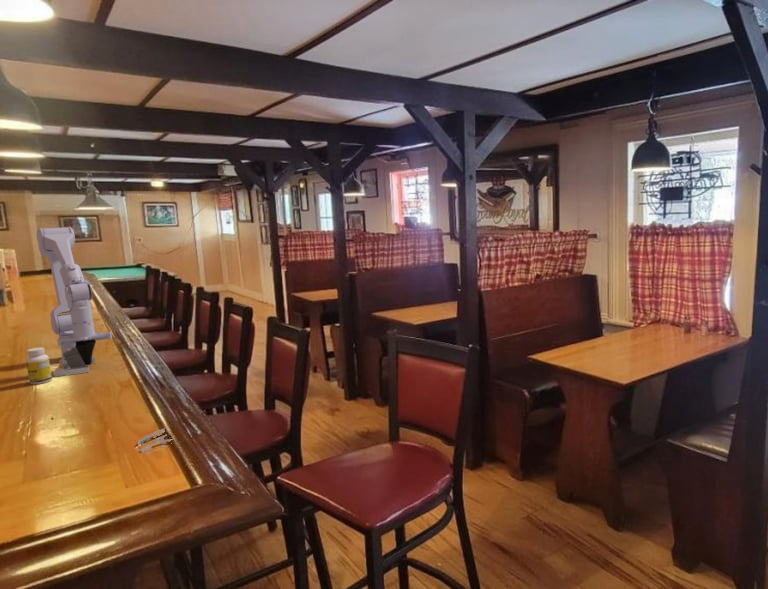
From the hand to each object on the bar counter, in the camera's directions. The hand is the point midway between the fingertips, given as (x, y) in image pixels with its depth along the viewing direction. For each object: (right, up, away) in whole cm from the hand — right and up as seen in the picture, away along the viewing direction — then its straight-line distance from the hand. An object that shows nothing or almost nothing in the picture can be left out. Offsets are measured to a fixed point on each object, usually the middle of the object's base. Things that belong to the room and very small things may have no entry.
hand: (88, 364), depth 161 cm
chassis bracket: (-3, -1, -1) cm, 4 cm away
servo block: (-2, -1, -1) cm, 3 cm away
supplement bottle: (-6, -4, -13) cm, 15 cm away
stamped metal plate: (+48, -8, -59) cm, 77 cm away
